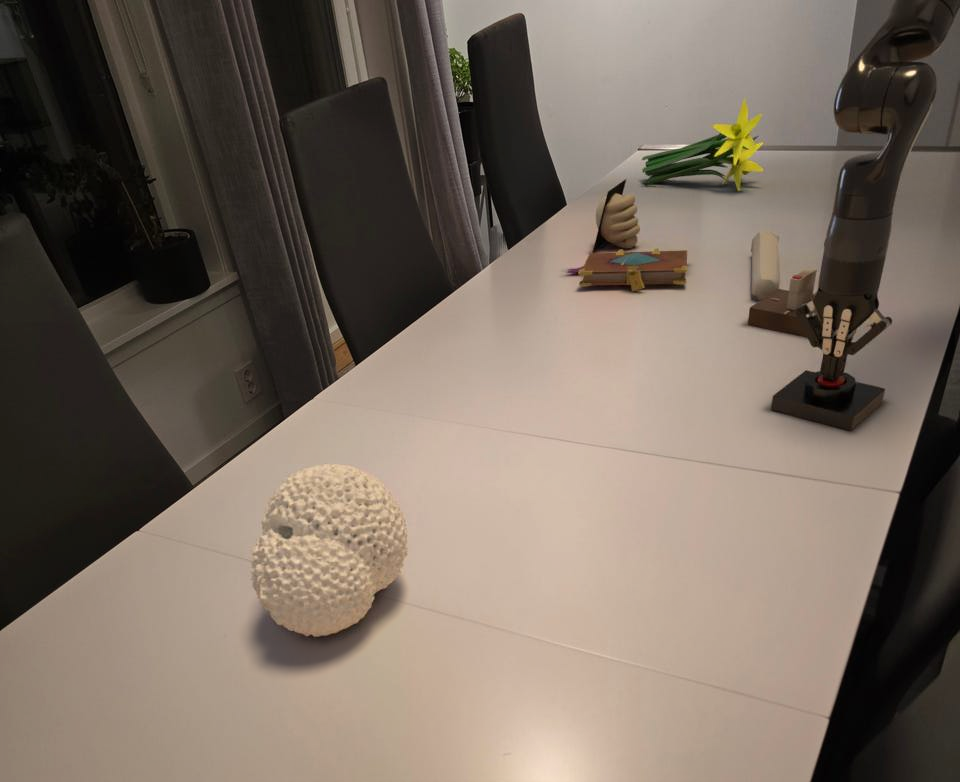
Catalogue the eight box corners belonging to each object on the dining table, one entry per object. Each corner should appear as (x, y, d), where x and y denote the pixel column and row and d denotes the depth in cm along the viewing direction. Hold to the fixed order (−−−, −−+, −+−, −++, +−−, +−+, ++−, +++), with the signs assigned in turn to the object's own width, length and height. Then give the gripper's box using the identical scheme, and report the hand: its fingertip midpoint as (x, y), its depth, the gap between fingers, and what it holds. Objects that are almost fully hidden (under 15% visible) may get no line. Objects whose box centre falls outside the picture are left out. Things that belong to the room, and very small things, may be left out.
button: (847, 388, 119) (849, 376, 118) (835, 398, 117) (837, 386, 116) (822, 382, 121) (825, 371, 120) (811, 392, 119) (813, 380, 118)
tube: (786, 280, 148) (783, 234, 166) (758, 271, 148) (758, 226, 166) (772, 309, 152) (771, 261, 169) (745, 300, 152) (746, 253, 169)
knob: (803, 297, 144) (808, 265, 140) (812, 299, 143) (817, 267, 139) (786, 309, 141) (790, 277, 137) (794, 310, 140) (799, 278, 136)
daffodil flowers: (669, 175, 226) (794, 142, 202) (650, 219, 223) (774, 191, 199) (641, 123, 214) (769, 82, 190) (620, 169, 211) (748, 133, 187)
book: (568, 271, 177) (568, 245, 174) (688, 267, 171) (690, 241, 168) (556, 294, 164) (556, 268, 161) (685, 292, 159) (687, 264, 156)
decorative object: (640, 250, 186) (623, 265, 180) (599, 234, 188) (580, 248, 182) (658, 190, 176) (640, 204, 170) (614, 174, 179) (595, 187, 172)
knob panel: (846, 318, 143) (850, 300, 141) (818, 339, 138) (821, 320, 136) (776, 305, 150) (778, 287, 148) (747, 324, 145) (749, 306, 143)
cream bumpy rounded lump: (285, 481, 102) (295, 414, 87) (418, 533, 106) (450, 478, 90) (224, 627, 96) (223, 583, 81) (368, 678, 99) (393, 645, 84)
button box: (882, 402, 120) (888, 376, 117) (850, 431, 115) (856, 404, 112) (803, 383, 127) (807, 358, 124) (770, 409, 122) (774, 383, 119)
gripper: (920, 248, 105) (888, 379, 116) (819, 234, 112) (799, 359, 124) (894, 266, 101) (864, 400, 112) (792, 251, 108) (774, 378, 120)
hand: (830, 378), depth 118 cm, fingers closed
